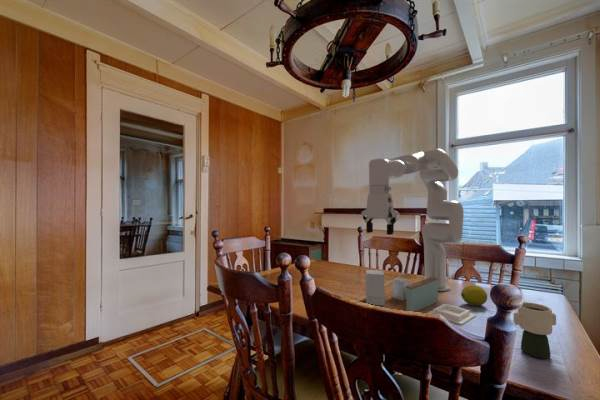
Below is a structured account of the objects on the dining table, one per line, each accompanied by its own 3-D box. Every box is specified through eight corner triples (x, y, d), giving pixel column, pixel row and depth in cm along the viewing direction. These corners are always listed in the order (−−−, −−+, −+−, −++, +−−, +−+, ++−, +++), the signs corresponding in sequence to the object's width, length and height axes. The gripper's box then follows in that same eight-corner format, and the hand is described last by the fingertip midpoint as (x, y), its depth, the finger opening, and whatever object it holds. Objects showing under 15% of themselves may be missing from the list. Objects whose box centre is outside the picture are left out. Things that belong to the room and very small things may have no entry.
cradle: (442, 306, 110) (442, 301, 110) (476, 316, 100) (476, 310, 100) (427, 314, 102) (427, 308, 102) (461, 325, 93) (461, 319, 93)
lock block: (399, 295, 124) (399, 277, 124) (409, 298, 120) (409, 279, 120) (392, 297, 120) (392, 279, 121) (403, 300, 116) (402, 282, 117)
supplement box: (385, 305, 111) (384, 274, 111) (366, 304, 112) (365, 273, 113) (383, 299, 118) (382, 270, 118) (365, 298, 120) (365, 269, 120)
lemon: (479, 301, 115) (479, 282, 115) (493, 308, 107) (493, 288, 107) (454, 302, 114) (454, 283, 114) (467, 309, 106) (466, 288, 107)
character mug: (545, 347, 78) (544, 302, 78) (568, 362, 71) (567, 311, 71) (505, 346, 79) (504, 301, 79) (524, 361, 72) (523, 311, 72)
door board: (432, 300, 117) (432, 277, 117) (438, 301, 115) (437, 278, 115) (406, 311, 105) (406, 286, 105) (411, 313, 103) (411, 287, 103)
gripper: (404, 189, 104) (404, 234, 104) (367, 191, 118) (368, 231, 118) (392, 189, 100) (393, 236, 99) (355, 191, 113) (356, 232, 113)
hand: (379, 233), depth 109 cm, fingers open, 9 cm apart
